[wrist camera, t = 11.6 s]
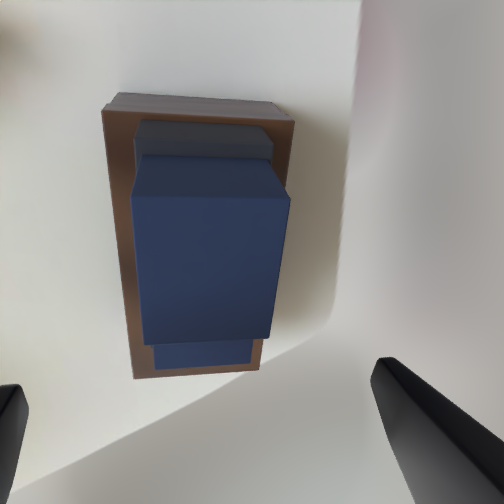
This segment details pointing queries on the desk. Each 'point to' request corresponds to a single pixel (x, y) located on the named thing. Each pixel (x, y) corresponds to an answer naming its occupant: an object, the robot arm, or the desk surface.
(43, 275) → the desk surface
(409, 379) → the robot arm
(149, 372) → the shelf
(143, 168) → the stepped navy block
